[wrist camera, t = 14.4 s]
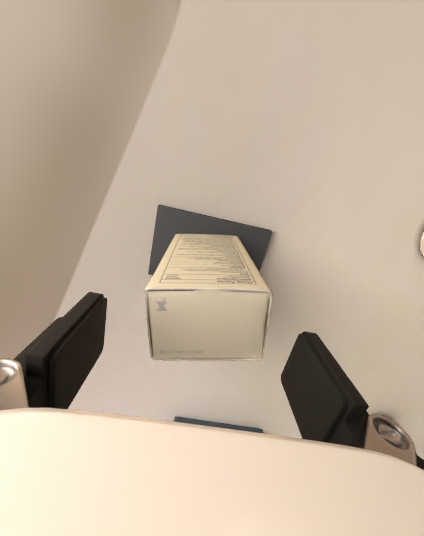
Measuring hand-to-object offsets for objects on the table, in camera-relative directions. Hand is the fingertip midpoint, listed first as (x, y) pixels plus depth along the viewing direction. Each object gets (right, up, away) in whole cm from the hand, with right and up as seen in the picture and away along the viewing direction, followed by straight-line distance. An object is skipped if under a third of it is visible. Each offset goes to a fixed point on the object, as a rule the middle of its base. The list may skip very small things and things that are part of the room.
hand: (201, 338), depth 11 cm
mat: (0, +5, +12) cm, 13 cm away
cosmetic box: (0, +5, +12) cm, 13 cm away
